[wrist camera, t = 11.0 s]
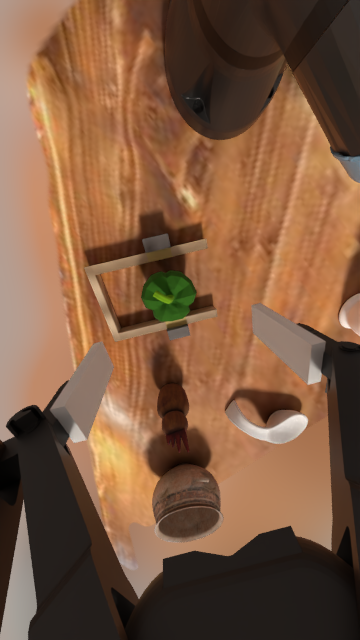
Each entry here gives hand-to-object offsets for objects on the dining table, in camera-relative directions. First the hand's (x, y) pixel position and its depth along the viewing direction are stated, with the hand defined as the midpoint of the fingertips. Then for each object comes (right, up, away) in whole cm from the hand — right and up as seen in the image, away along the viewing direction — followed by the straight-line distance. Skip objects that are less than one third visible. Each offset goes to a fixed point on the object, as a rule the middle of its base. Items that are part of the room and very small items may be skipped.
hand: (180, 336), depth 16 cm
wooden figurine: (-2, -15, +28) cm, 32 cm away
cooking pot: (+1, -46, +41) cm, 61 cm away
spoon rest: (+24, -25, +35) cm, 49 cm away
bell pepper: (-2, +8, +19) cm, 20 cm away
